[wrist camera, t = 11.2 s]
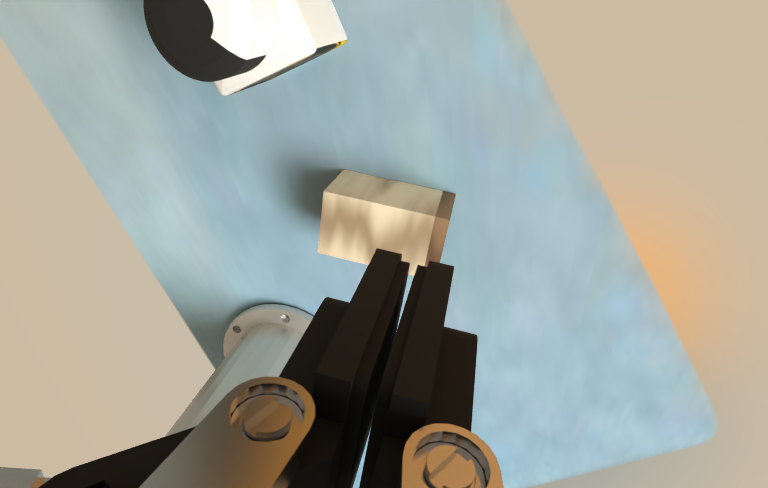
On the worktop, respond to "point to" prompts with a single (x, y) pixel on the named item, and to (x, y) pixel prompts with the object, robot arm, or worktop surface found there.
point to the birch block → (383, 219)
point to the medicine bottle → (241, 37)
